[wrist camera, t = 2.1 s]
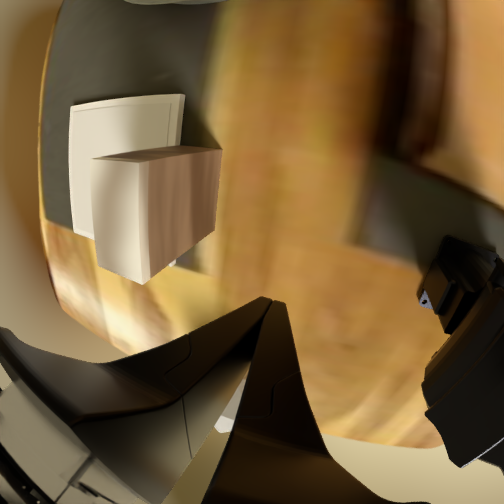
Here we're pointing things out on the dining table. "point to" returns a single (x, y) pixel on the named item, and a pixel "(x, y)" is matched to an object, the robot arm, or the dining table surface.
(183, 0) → the cake pan
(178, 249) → the walnut block
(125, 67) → the dining table surface
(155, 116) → the shallow cream tray
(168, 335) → the dining table surface
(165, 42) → the dining table surface
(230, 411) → the die
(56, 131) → the dining table surface
